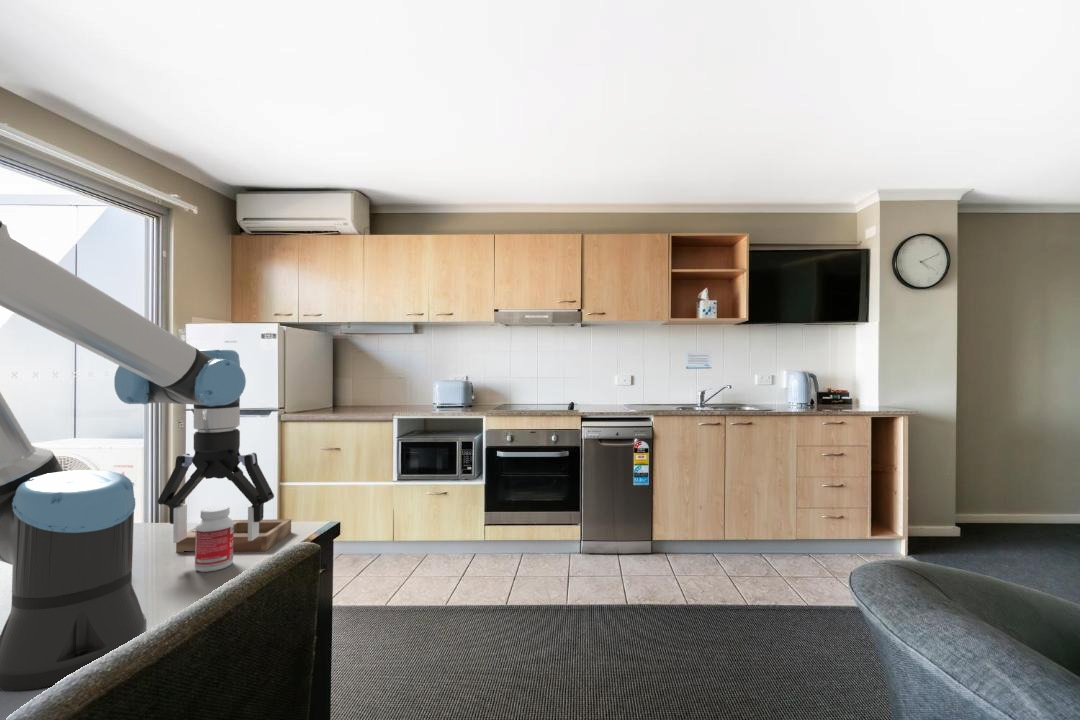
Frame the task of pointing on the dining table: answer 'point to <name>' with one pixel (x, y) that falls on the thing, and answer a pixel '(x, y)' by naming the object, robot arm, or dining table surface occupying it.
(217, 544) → the pill bottle
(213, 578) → the dining table surface
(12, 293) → the robot arm
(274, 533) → the socket block
